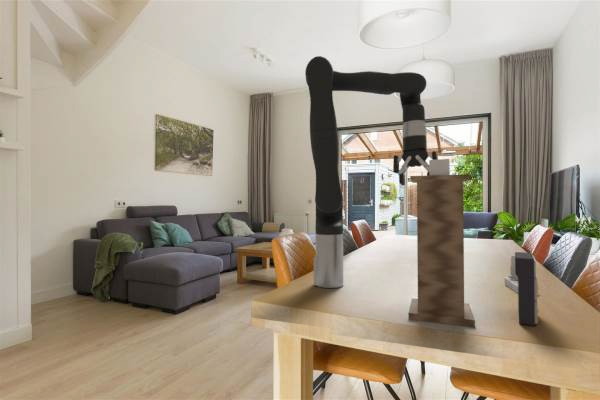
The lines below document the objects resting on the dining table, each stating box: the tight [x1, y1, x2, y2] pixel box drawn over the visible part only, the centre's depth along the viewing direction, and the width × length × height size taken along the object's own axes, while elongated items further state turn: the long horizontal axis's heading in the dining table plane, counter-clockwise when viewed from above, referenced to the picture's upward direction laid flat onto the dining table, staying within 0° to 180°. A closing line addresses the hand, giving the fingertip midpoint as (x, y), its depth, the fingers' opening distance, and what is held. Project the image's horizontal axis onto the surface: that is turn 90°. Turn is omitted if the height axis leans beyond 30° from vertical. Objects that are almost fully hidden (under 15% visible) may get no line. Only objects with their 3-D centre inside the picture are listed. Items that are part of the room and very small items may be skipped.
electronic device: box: [503, 255, 518, 294], centre depth 108 cm, size 5×10×15 cm
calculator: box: [514, 251, 539, 327], centre depth 81 cm, size 11×4×15 cm, turn 148°
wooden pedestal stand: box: [408, 173, 476, 328], centre depth 84 cm, size 14×14×34 cm
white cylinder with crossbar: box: [428, 158, 451, 175], centre depth 90 cm, size 21×4×4 cm, turn 159°
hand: (415, 184), depth 113 cm, fingers open, 8 cm apart
